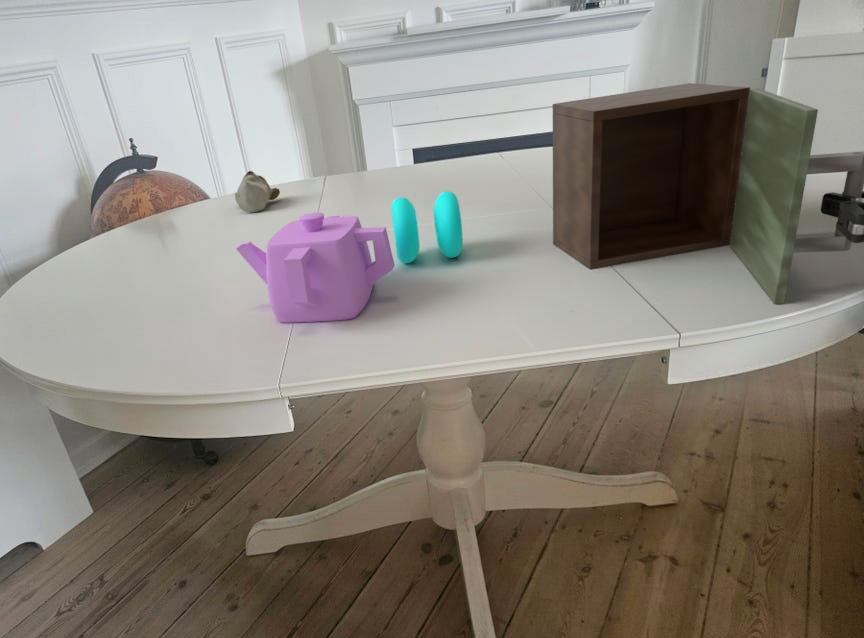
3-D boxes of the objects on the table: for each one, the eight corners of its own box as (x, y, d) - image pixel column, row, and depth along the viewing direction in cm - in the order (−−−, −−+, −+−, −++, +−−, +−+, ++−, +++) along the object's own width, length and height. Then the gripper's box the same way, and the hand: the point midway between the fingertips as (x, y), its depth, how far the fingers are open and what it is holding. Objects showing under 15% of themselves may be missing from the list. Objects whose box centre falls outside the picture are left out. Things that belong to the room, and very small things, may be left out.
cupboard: (730, 245, 87) (750, 87, 78) (589, 270, 86) (593, 111, 77) (677, 223, 99) (689, 83, 90) (552, 244, 97) (552, 103, 88)
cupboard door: (789, 243, 85) (817, 82, 76) (850, 302, 67) (896, 102, 58) (729, 246, 87) (749, 89, 78) (774, 304, 69) (806, 110, 60)
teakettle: (305, 339, 77) (285, 241, 71) (245, 307, 90) (225, 221, 84) (412, 296, 85) (402, 206, 80) (344, 272, 98) (331, 192, 92)
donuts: (397, 253, 103) (389, 192, 99) (457, 245, 103) (453, 183, 98) (398, 273, 94) (391, 207, 90) (465, 265, 94) (460, 198, 89)
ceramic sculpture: (220, 177, 138) (233, 170, 152) (229, 217, 142) (240, 206, 155) (268, 171, 138) (277, 164, 152) (276, 211, 142) (283, 200, 155)
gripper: (1093, 181, 51) (898, 155, 67) (947, 206, 50) (782, 174, 65) (1060, 269, 55) (882, 225, 70) (922, 295, 53) (770, 245, 68)
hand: (834, 200), depth 68 cm, fingers closed on cupboard door, 2 cm apart
